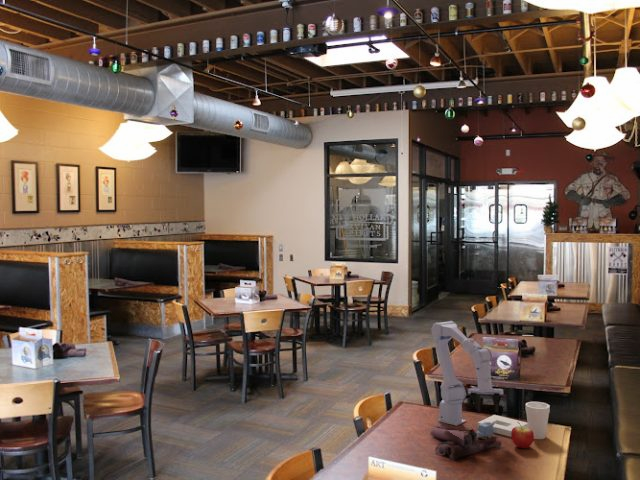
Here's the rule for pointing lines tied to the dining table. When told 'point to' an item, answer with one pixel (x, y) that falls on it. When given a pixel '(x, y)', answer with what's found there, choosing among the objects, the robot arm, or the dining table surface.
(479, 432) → the servo
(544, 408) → the foam cup
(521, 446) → the apple
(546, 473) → the dining table surface
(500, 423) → the chassis plate
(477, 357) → the robot arm
